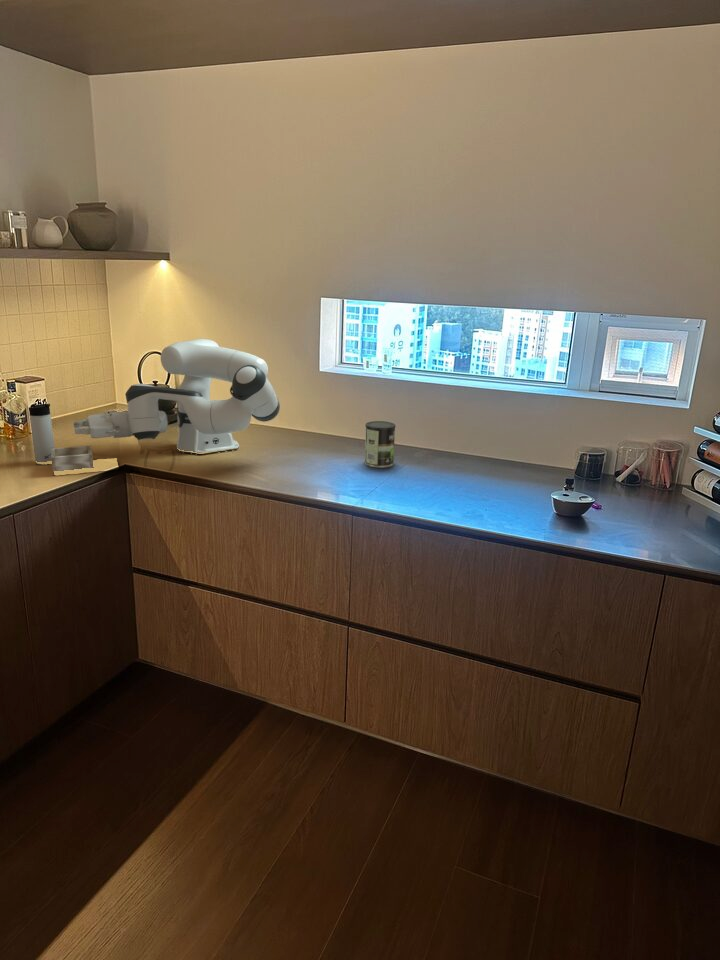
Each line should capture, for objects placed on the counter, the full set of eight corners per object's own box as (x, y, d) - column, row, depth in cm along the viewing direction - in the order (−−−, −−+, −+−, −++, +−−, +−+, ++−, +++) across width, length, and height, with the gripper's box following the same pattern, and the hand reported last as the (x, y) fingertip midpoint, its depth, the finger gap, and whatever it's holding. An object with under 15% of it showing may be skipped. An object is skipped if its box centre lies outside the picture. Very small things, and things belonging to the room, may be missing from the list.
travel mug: (52, 465, 222) (44, 406, 216) (32, 465, 222) (24, 405, 216) (60, 460, 228) (53, 402, 222) (41, 459, 228) (33, 401, 222)
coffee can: (395, 460, 239) (397, 421, 235) (391, 469, 229) (392, 428, 225) (367, 458, 241) (368, 419, 236) (361, 466, 231) (362, 426, 227)
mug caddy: (117, 460, 230) (115, 443, 228) (120, 470, 220) (118, 452, 218) (53, 465, 222) (51, 448, 220) (53, 476, 212) (51, 458, 210)
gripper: (121, 441, 222) (76, 444, 216) (116, 427, 240) (74, 430, 234) (119, 422, 220) (74, 425, 214) (114, 409, 238) (72, 412, 232)
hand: (74, 427), depth 224 cm, fingers open, 8 cm apart
